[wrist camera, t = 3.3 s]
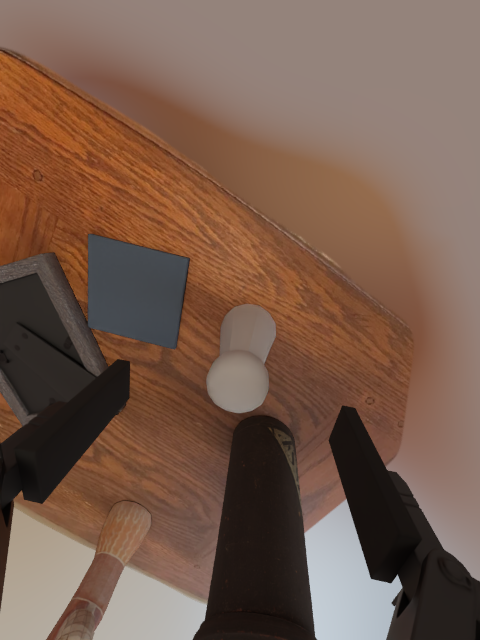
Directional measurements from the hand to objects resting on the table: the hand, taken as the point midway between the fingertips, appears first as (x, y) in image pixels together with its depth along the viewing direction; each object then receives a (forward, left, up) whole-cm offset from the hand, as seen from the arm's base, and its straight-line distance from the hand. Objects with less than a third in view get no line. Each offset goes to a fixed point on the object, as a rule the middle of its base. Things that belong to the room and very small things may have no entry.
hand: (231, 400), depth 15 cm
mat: (+10, +9, -14) cm, 19 cm away
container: (-15, +8, -14) cm, 22 cm away
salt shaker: (0, 0, -14) cm, 14 cm away
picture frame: (+12, +25, -14) cm, 31 cm away
